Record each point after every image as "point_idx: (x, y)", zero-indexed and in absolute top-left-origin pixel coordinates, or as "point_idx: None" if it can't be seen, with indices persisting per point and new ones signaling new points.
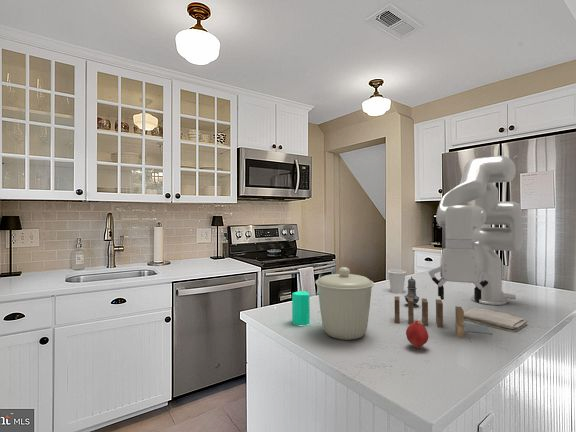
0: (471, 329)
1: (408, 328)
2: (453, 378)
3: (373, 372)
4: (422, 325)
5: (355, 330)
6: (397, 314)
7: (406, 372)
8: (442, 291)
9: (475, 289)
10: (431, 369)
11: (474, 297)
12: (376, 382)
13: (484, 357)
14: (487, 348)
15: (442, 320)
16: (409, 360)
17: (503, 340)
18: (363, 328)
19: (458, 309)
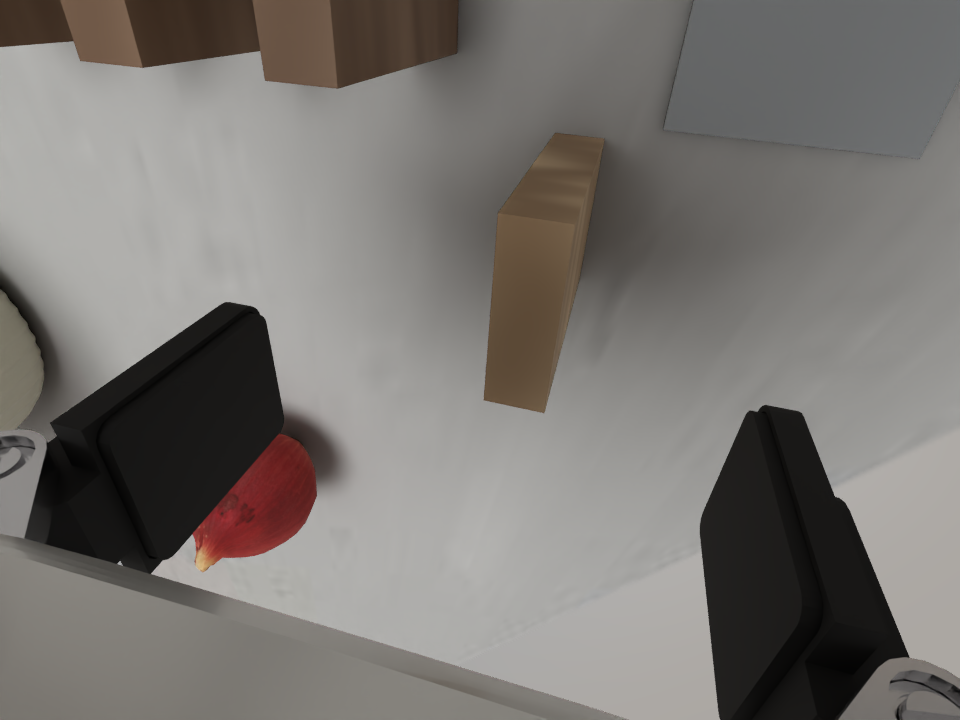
0: (738, 69)
1: None
2: (417, 621)
3: (208, 579)
4: (246, 545)
5: None
6: None
7: (288, 586)
8: (195, 513)
9: (751, 672)
10: (356, 579)
11: (754, 444)
12: None
13: (586, 521)
14: (662, 435)
15: (427, 60)
16: None
17: (908, 298)
18: (13, 416)
19: (501, 355)
